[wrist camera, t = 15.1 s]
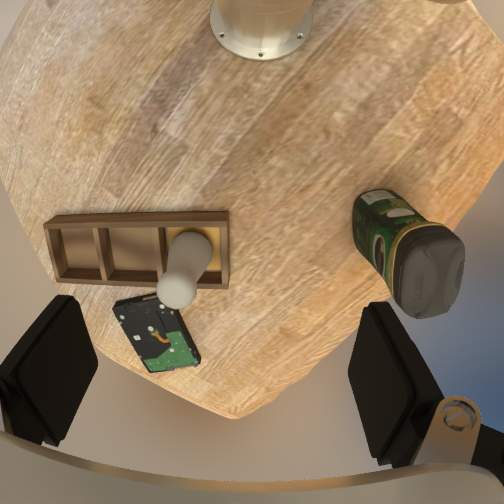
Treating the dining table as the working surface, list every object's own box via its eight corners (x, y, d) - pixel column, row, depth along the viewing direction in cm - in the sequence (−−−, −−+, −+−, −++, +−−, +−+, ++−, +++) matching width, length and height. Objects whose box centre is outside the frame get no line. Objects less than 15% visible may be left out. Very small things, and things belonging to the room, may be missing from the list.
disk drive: (116, 299, 49) (152, 364, 55) (110, 308, 47) (149, 374, 53) (170, 286, 48) (203, 356, 54) (165, 296, 46) (201, 367, 51)
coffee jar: (400, 247, 45) (463, 318, 28) (352, 254, 45) (400, 334, 28) (401, 185, 41) (478, 233, 24) (349, 190, 41) (409, 244, 24)
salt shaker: (177, 265, 45) (154, 319, 33) (169, 228, 43) (140, 273, 31) (217, 262, 45) (205, 317, 33) (211, 224, 42) (196, 268, 31)
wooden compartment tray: (56, 215, 42) (42, 224, 39) (228, 211, 43) (226, 221, 39) (68, 272, 47) (57, 283, 43) (230, 276, 47) (228, 291, 43)
